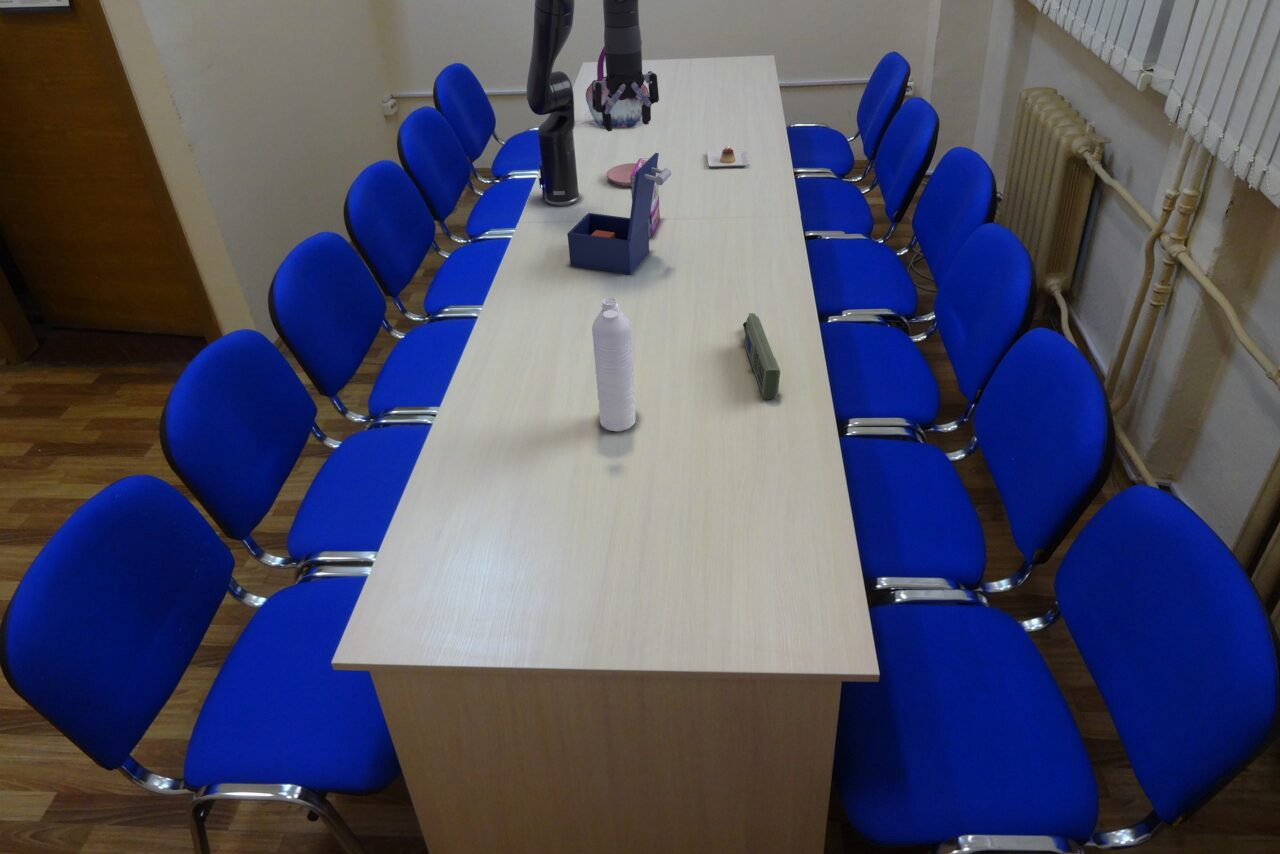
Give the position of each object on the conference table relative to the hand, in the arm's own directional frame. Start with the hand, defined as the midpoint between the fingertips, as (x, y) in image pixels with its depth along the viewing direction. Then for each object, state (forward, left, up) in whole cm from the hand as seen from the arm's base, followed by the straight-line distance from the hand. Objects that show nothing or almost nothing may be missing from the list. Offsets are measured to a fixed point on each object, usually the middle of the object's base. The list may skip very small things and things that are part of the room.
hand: (627, 126), depth 185 cm
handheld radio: (+48, -17, -32) cm, 61 cm away
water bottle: (+40, -49, -32) cm, 71 cm away
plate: (-35, +38, -32) cm, 61 cm away
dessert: (-21, +65, -32) cm, 75 cm away
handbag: (-71, +71, -32) cm, 105 cm away
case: (-6, -2, -32) cm, 33 cm away
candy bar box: (-10, +16, -32) cm, 37 cm away
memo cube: (-8, -3, -31) cm, 32 cm away
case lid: (+3, +1, -15) cm, 16 cm away
